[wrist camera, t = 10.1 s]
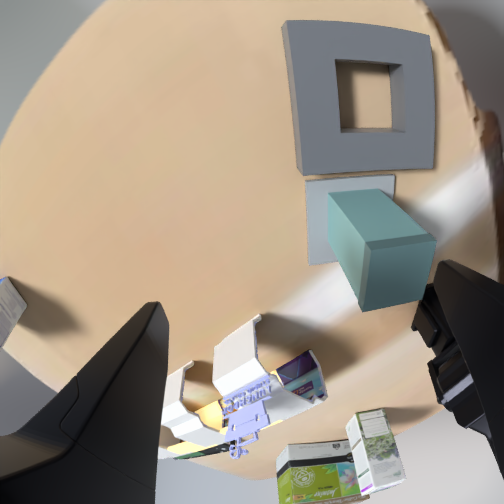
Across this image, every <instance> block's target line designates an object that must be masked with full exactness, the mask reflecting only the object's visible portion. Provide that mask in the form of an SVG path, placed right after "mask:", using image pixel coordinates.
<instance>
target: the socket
mask: <svg viewBox="0 0 504 504" xmlns="http://www.w3.org/2000/svg"><path fill="white" fill-rule="evenodd" d="M281 28H282V35H283V42H284V49H285V57H286V64H287V72H288V81H289V89H290V98H291V107H292V117H293V127H294V138H295V150H296V162H297V168H298V170H299V171H300V173H301V174H302V175H303V176H307V175H317V174H329V173H341V172H356V171H372V170H393V169H430V168H433V158H434V137H435V96H434V76H433V63H432V53H431V44H430V36H429V35H426V34H422V33H417V32H413V31H408V30H403V29H397V28H391V27H385V26H378V25H371V24H362V23H353V22H340V21H319V20H288V21H286V22H285V23H284V24H283V26H282V27H281ZM335 62H356V63H371V64H382V65H389V74H390V88H391V108H392V128H340V114H339V100H338V88H337V77H336V68H335Z"/></svg>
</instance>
